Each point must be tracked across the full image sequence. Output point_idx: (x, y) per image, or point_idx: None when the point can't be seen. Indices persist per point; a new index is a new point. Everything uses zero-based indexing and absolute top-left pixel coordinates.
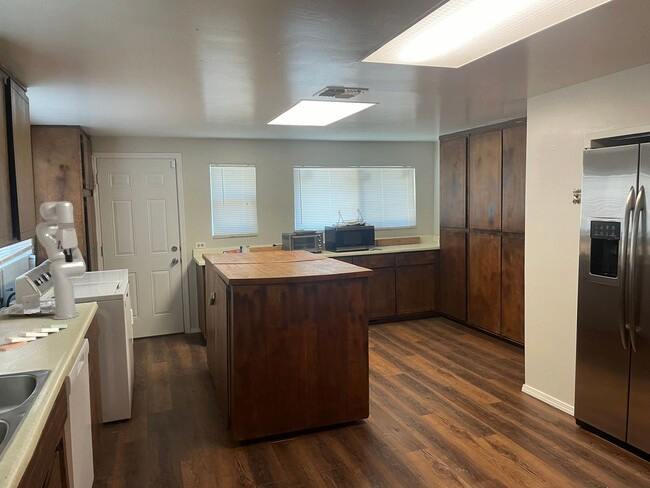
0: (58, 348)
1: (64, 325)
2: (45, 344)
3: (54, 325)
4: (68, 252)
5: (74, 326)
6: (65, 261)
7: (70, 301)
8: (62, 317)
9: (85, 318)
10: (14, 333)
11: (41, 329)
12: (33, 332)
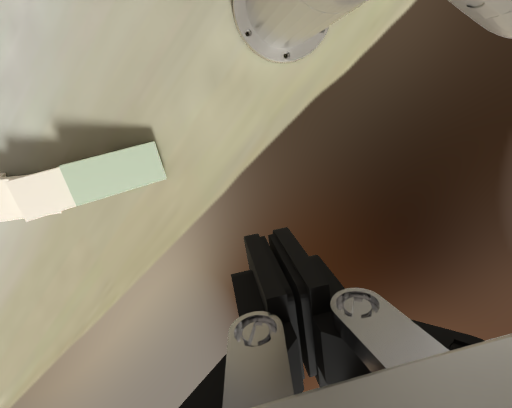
0: (8, 358)
1: (151, 183)
2: (5, 289)
3: (97, 199)
4: None
5: (189, 185)
6: (245, 237)
7: (301, 33)
8: (244, 36)
9: (284, 123)
10: (10, 24)
11: (25, 219)
12: (1, 200)
